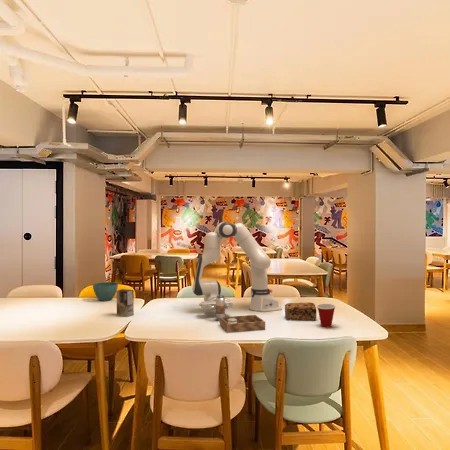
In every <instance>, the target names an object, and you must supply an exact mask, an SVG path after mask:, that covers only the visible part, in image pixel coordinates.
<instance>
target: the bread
mask: <svg viewBox="0 0 450 450" xmlns="http://www.w3.org/2000/svg"><path fill="white" fill-rule="evenodd" d="M284 315H285V318H286V321H316V320H317V306H316V304H315V303H314V302H307V301H306V302H292V303H291V302H290V303H286V304H284Z"/></svg>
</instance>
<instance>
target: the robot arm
mask: <svg viewBox="0 0 450 450" xmlns="http://www.w3.org/2000/svg"><path fill="white" fill-rule="evenodd" d="M231 237H232V238H234V239H235V241H236V242H237V244H238V246H239V247H240V248H241V250H242V251H243V252H244V254H245V255H246V257H248V258H249V264H250V273H251V274H250V275H251V288H250V296H251V297H250V303H249V308H248V309H249V310H250V311H255V312H262V313H266V312H274V311H280V310H281V311H282V309H283V307H282V306H280V304H279V301H278V299H277V298H276V297H275V296H273V295H272V294H271V293H273V291H274V290H273V289H271V288H268V281H269V280H268V279H269V277H268V274H267V269H268V268H269V267H270V266H271V258H270V257H269V256H268V254H267V253H266V251H264V249H263V248H262V247H261V245H260V244H259V243H258V242H257V241H256V238H254V236H253V235H252V233H251V231H249V229H248V228H247V227H246V226H245V224H243V223H241V222H238V223H235V224H233V223H232V222H229V221H221V222H220V223H218V224H216V226H215V227H214V229H213V231H210V232H207V233H206V235H205V238H204V245H203V253H202V255H200V256H199V257H198V261H197V265H196V269H195V275H194V280H193V284H192V293H193V294H194V295H195V296H197V297H199V296H203V301H201V303H199V306H200V307H201V309H202V310H212V311H216V297H217V296H219V295H221V294H222V290H221V289H222V287H221V284H220V282H219V281H218V279H209V280H208V279H206V280H203V278H202V276H203V271H204V268H205V267H206V266H207V265H209V264H212V263H214V262H216V261H217V260H219V259H220V256H221V243H222V240H224V239H229V238H231ZM224 297H225V296H224ZM232 308H234V302H233V301H232V300H231V299H229V298H228V297H225V309H232Z"/></svg>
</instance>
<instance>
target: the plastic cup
mask: <svg viewBox="0 0 450 450" xmlns="http://www.w3.org/2000/svg"><path fill="white" fill-rule="evenodd" d="M316 309H317V312H318V315H319V321H320V326H321V327H322V328H331V327H332V324H333V320H334V314H335V313H334V312H335V309H336V305H335V304H332V303H320V304H319V303H318V304H317V305H316Z"/></svg>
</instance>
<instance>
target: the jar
mask: <svg viewBox="0 0 450 450" xmlns="http://www.w3.org/2000/svg"><path fill="white" fill-rule="evenodd" d="M233 323H237V319H235V318H229V319H228V324H233Z"/></svg>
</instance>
